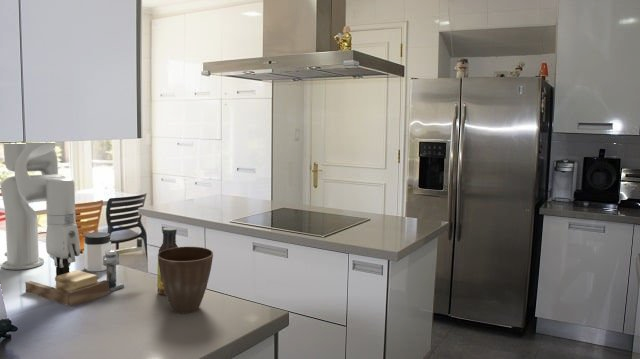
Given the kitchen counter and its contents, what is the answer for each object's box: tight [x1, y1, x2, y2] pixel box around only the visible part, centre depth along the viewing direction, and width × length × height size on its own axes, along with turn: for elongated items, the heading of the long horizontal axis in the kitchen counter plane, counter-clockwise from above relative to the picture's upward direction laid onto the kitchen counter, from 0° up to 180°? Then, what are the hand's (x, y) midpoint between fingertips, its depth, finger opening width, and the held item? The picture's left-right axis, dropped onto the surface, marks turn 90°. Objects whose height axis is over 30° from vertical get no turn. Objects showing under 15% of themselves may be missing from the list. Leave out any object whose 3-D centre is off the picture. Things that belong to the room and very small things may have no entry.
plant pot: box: [157, 246, 214, 314], centre depth 138 cm, size 15×15×16 cm
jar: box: [83, 231, 112, 272], centre depth 172 cm, size 9×8×12 cm
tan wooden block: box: [54, 269, 99, 292], centre depth 145 cm, size 9×7×6 cm
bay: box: [24, 279, 110, 307], centre depth 148 cm, size 22×12×4 cm, turn 61°
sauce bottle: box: [156, 227, 179, 296], centre depth 150 cm, size 6×6×20 cm
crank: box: [105, 238, 143, 257], centre depth 155 cm, size 12×3×4 cm, turn 137°
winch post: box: [103, 254, 125, 293], centre depth 153 cm, size 5×5×10 cm
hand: (63, 278), depth 148 cm, fingers closed
